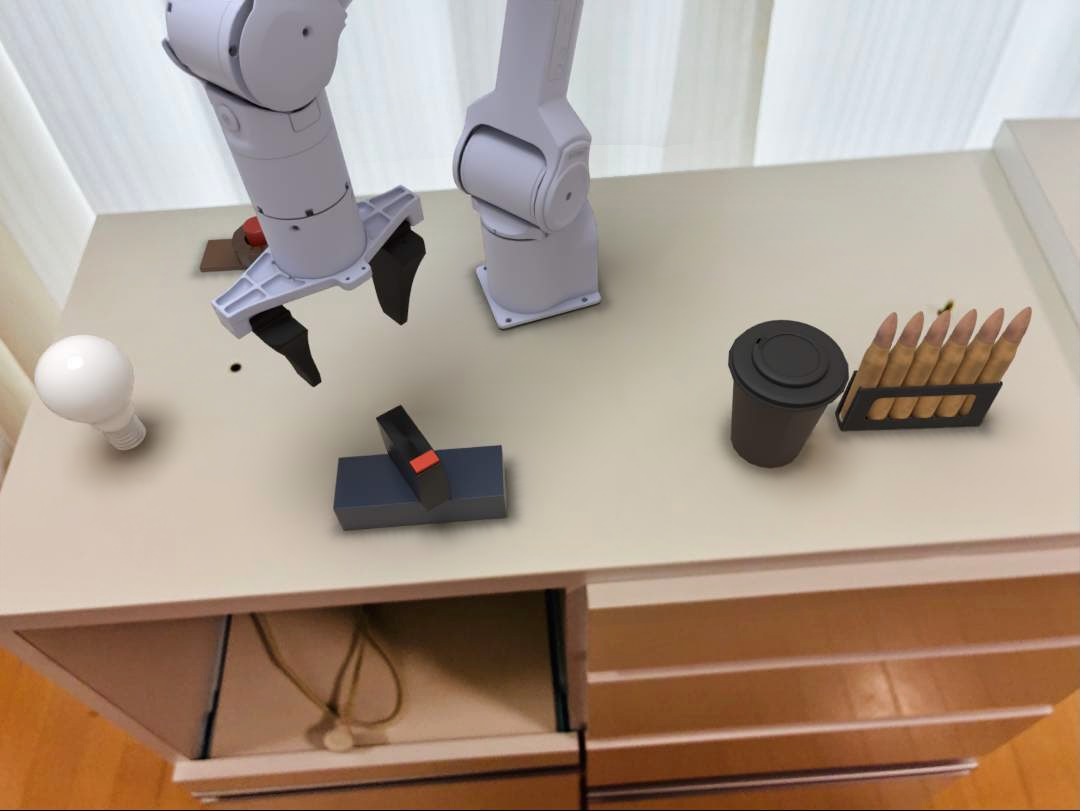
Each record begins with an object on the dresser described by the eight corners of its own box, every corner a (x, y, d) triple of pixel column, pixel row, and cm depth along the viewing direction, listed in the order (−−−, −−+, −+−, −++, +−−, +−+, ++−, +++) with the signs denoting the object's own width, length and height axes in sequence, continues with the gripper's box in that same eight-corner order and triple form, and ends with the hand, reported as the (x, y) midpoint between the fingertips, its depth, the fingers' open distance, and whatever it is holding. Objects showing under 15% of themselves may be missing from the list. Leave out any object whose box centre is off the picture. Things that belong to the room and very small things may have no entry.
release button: (276, 229, 78) (270, 214, 77) (272, 246, 77) (266, 231, 75) (251, 230, 78) (245, 216, 77) (246, 247, 77) (240, 233, 75)
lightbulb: (149, 480, 63) (80, 390, 55) (76, 468, 64) (-4, 378, 56) (186, 415, 67) (127, 322, 59) (117, 405, 68) (48, 311, 60)
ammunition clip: (839, 431, 63) (884, 323, 54) (834, 412, 65) (876, 303, 55) (980, 426, 63) (1050, 316, 54) (972, 407, 64) (1039, 296, 55)
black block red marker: (387, 454, 60) (374, 415, 57) (411, 441, 61) (400, 401, 57) (427, 512, 57) (416, 475, 53) (452, 498, 58) (442, 460, 54)
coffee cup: (707, 397, 66) (724, 310, 58) (810, 397, 66) (841, 309, 58) (717, 483, 61) (737, 400, 53) (829, 484, 61) (865, 400, 53)
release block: (333, 233, 80) (327, 213, 79) (326, 270, 77) (320, 251, 75) (211, 239, 81) (202, 220, 79) (199, 277, 77) (190, 258, 75)
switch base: (504, 467, 63) (501, 444, 60) (507, 517, 60) (504, 495, 58) (347, 479, 63) (338, 457, 60) (343, 530, 60) (332, 509, 58)
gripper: (229, 287, 42) (302, 439, 53) (441, 157, 48) (467, 318, 59) (160, 227, 46) (242, 382, 56) (367, 112, 51) (405, 272, 62)
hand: (353, 346), depth 58 cm, fingers open, 7 cm apart
